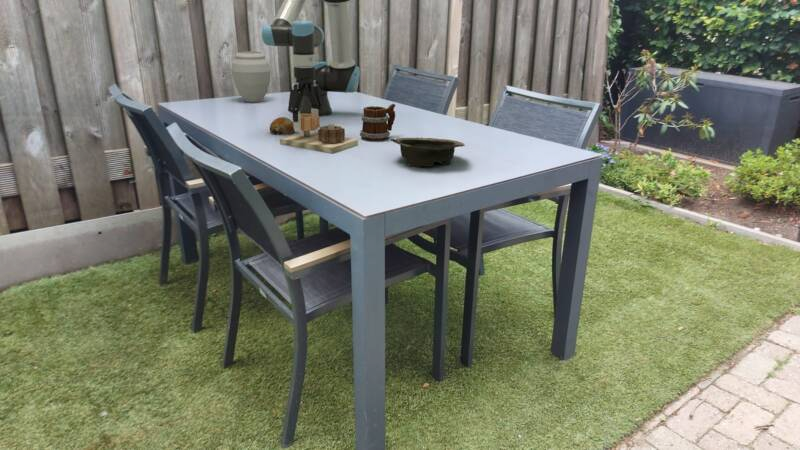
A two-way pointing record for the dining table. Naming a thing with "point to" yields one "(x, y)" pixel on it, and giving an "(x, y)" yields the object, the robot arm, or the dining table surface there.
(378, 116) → the mug
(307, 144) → the peg board
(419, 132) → the dining table surface
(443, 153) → the stone bowl
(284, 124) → the bread roll
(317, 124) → the gear
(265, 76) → the vase
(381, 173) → the dining table surface
